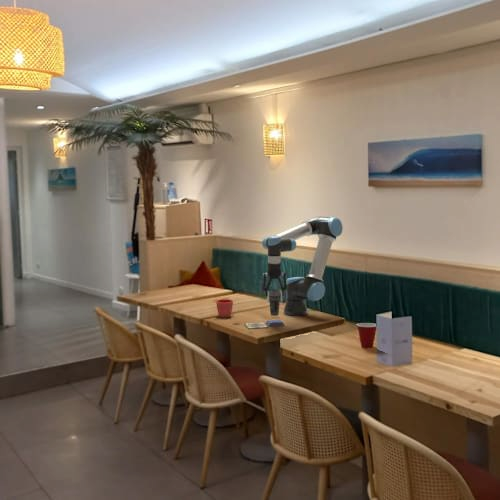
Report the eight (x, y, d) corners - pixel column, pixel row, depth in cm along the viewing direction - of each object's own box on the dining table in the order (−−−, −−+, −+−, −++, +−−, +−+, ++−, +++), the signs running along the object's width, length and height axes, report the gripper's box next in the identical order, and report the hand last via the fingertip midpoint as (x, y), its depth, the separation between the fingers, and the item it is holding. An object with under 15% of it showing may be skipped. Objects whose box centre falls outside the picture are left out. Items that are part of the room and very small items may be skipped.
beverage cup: (280, 313, 376) (280, 280, 374) (281, 316, 369) (281, 282, 367) (268, 313, 376) (267, 280, 374) (268, 316, 369) (268, 282, 366)
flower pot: (236, 315, 400) (236, 300, 399) (226, 318, 391) (226, 303, 390) (222, 313, 406) (222, 298, 405) (213, 316, 397) (212, 301, 396)
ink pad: (280, 322, 379) (280, 319, 378) (284, 325, 370) (284, 322, 370) (265, 323, 377) (265, 320, 377) (269, 326, 368) (269, 323, 368)
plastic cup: (376, 344, 327) (376, 321, 326) (378, 349, 317) (379, 326, 315) (355, 343, 328) (355, 321, 327) (356, 349, 318) (357, 326, 316)
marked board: (264, 323, 377) (264, 322, 377) (268, 327, 365) (268, 326, 365) (244, 324, 375) (244, 323, 375) (248, 329, 363) (248, 328, 363)
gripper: (289, 261, 375) (289, 299, 377) (256, 262, 371) (256, 301, 373) (292, 263, 367) (292, 302, 370) (258, 264, 363) (259, 303, 366)
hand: (274, 301), depth 372 cm, fingers closed on beverage cup, 7 cm apart
